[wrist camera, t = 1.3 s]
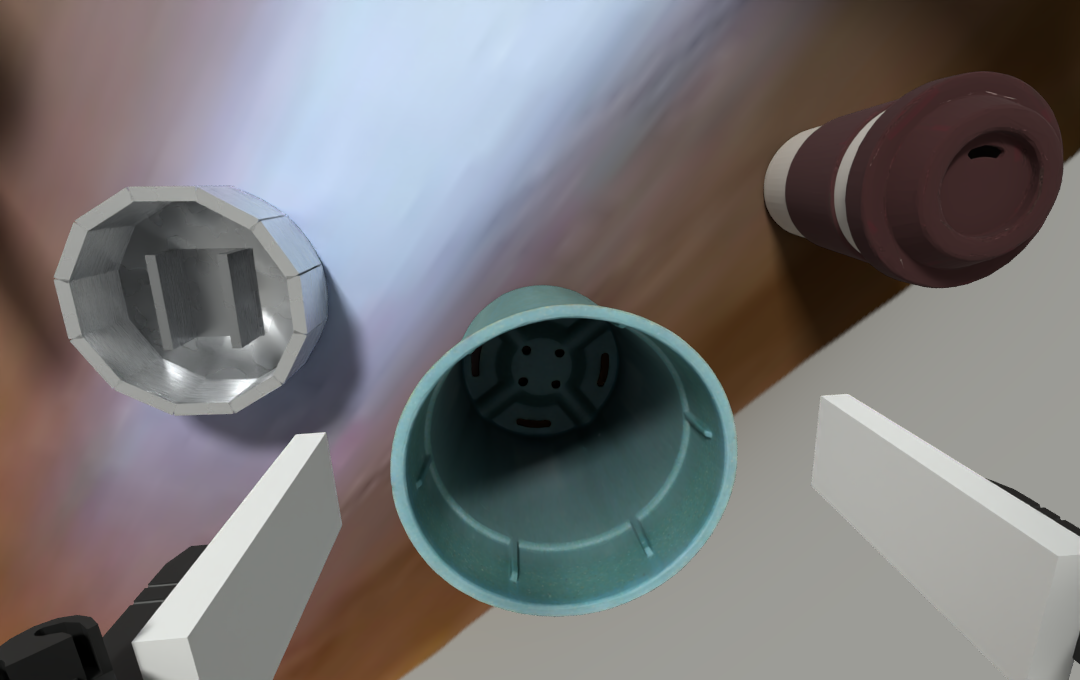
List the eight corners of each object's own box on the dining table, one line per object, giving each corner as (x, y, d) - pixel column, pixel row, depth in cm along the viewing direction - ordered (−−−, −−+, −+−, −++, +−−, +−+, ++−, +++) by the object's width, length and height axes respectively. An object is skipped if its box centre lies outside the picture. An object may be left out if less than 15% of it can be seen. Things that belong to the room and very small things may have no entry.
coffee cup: (819, 279, 41) (992, 332, 27) (714, 207, 39) (841, 223, 25) (907, 159, 39) (1145, 148, 25) (801, 77, 37) (994, 13, 23)
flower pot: (694, 347, 42) (809, 445, 26) (556, 500, 45) (587, 670, 29) (525, 206, 38) (544, 224, 23) (386, 383, 41) (318, 507, 25)
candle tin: (93, 186, 36) (30, 187, 31) (316, 185, 37) (288, 186, 32) (137, 389, 40) (88, 418, 35) (338, 383, 41) (316, 411, 36)
